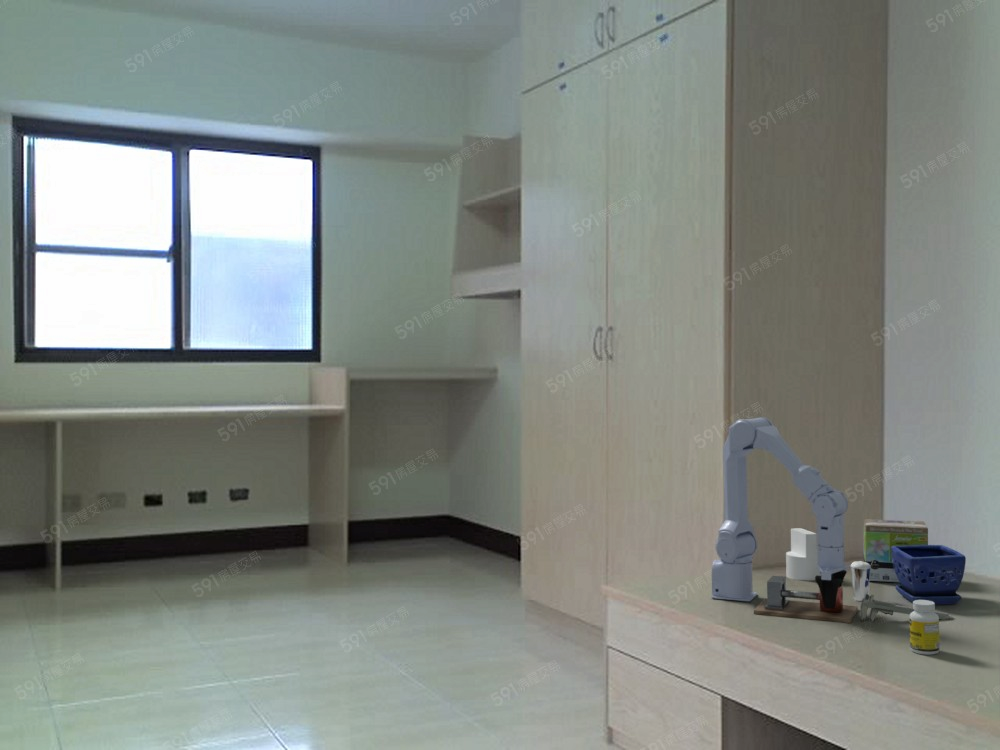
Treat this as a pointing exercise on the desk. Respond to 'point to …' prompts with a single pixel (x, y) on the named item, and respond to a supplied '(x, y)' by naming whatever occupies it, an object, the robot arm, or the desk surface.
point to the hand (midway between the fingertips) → (831, 605)
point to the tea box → (889, 544)
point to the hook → (817, 598)
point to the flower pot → (928, 572)
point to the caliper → (888, 608)
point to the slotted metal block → (776, 593)
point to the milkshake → (860, 579)
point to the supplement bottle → (924, 628)
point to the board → (808, 611)
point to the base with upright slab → (802, 555)
